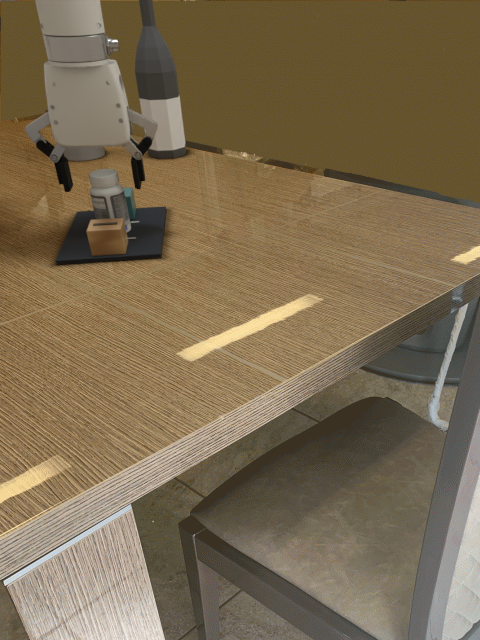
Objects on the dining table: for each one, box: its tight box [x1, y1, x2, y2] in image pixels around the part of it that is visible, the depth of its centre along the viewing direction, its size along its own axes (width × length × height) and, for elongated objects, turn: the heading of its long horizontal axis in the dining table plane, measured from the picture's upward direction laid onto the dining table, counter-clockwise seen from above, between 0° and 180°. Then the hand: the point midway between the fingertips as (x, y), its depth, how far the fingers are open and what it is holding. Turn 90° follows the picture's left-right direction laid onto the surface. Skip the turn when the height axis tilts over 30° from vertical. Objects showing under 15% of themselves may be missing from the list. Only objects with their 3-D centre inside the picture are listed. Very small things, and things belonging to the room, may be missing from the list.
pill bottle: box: [88, 168, 131, 232], centre depth 93 cm, size 5×5×8 cm
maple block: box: [86, 218, 128, 256], centre depth 89 cm, size 4×4×4 cm
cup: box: [63, 147, 106, 162], centre depth 128 cm, size 8×8×10 cm
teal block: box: [123, 186, 137, 219], centre depth 100 cm, size 4×4×4 cm
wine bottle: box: [134, 0, 187, 160], centre depth 123 cm, size 8×8×30 cm
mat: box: [55, 206, 167, 266], centre depth 95 cm, size 14×20×1 cm
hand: (104, 187), depth 92 cm, fingers open, 9 cm apart
